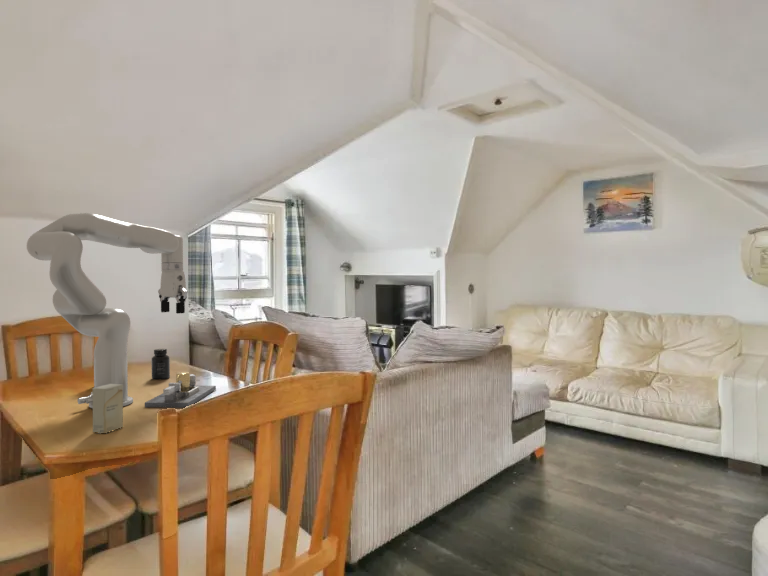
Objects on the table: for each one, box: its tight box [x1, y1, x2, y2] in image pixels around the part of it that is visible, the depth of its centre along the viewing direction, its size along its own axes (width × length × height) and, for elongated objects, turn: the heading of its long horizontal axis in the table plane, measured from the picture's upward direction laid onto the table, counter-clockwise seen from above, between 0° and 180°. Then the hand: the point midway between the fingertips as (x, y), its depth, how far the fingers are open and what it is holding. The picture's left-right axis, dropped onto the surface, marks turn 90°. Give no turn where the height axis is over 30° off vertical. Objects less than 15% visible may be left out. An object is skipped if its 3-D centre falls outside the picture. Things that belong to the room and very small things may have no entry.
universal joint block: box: [175, 371, 191, 392], centre depth 164 cm, size 6×4×7 cm
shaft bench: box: [144, 373, 217, 409], centre depth 164 cm, size 24×14×6 cm, turn 179°
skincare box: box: [92, 384, 124, 434], centre depth 129 cm, size 6×4×12 cm
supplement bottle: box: [150, 348, 171, 380], centre depth 195 cm, size 7×7×12 cm
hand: (172, 312), depth 180 cm, fingers open, 9 cm apart
